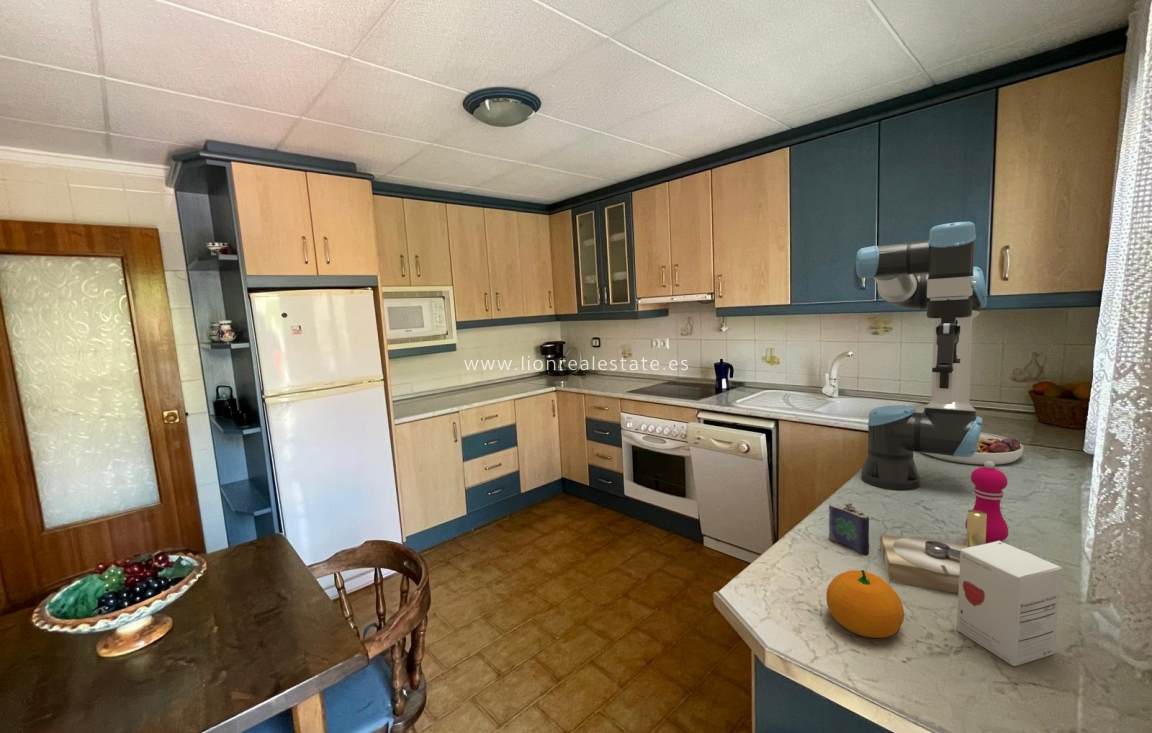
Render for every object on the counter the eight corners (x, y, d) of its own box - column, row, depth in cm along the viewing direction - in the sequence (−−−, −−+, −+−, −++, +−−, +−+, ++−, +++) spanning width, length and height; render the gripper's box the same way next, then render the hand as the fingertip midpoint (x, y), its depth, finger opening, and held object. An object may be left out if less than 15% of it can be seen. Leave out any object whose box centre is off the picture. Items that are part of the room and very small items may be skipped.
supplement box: (953, 629, 80) (957, 547, 78) (994, 619, 82) (998, 538, 80) (1013, 668, 71) (1019, 576, 70) (1057, 655, 73) (1063, 566, 71)
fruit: (813, 621, 84) (813, 569, 83) (845, 595, 91) (845, 547, 90) (885, 658, 75) (886, 600, 74) (915, 626, 81) (916, 573, 80)
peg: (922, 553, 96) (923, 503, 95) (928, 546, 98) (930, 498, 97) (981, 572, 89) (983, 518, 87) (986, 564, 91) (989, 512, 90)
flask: (826, 539, 112) (826, 497, 111) (834, 536, 113) (834, 494, 112) (864, 557, 104) (865, 511, 102) (872, 553, 105) (873, 508, 104)
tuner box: (879, 548, 107) (880, 530, 106) (980, 562, 99) (981, 544, 98) (890, 584, 94) (890, 564, 93) (1007, 604, 86) (1008, 582, 85)
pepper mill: (1015, 556, 100) (1020, 467, 98) (977, 554, 102) (981, 466, 99) (993, 539, 107) (997, 456, 105) (957, 538, 109) (960, 456, 107)
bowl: (901, 456, 166) (902, 435, 165) (922, 437, 186) (922, 418, 185) (1017, 475, 144) (1018, 450, 143) (1026, 451, 163) (1027, 429, 162)
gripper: (971, 299, 87) (966, 410, 89) (973, 296, 105) (970, 389, 108) (921, 301, 92) (917, 407, 94) (932, 298, 110) (929, 387, 113)
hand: (945, 397), depth 101 cm, fingers open, 13 cm apart
